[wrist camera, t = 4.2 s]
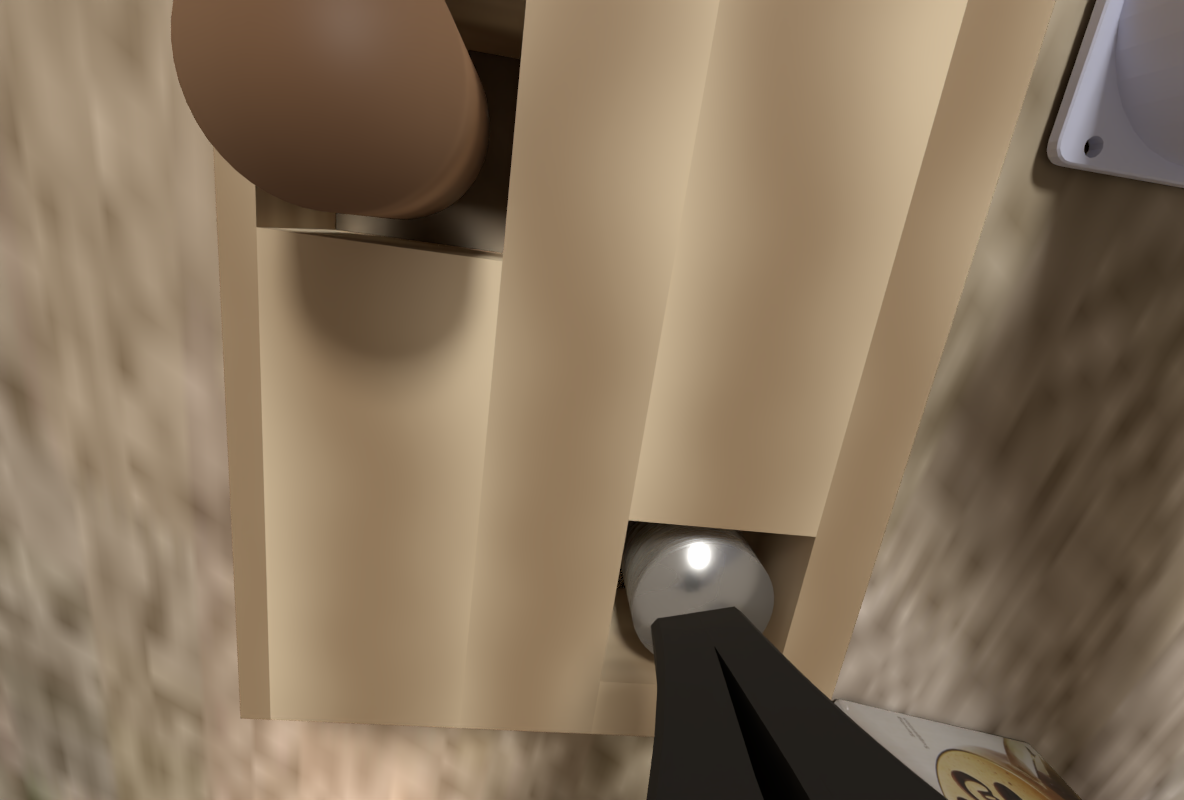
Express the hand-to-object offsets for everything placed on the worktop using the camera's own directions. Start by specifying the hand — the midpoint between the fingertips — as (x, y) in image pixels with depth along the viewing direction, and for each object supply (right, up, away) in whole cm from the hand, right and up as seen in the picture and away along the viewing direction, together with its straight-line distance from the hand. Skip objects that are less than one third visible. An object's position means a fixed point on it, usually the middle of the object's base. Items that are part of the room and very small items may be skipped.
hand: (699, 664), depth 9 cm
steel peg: (+1, 0, +8) cm, 9 cm away
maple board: (-2, +5, +7) cm, 9 cm away
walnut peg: (-5, +9, +2) cm, 11 cm away
